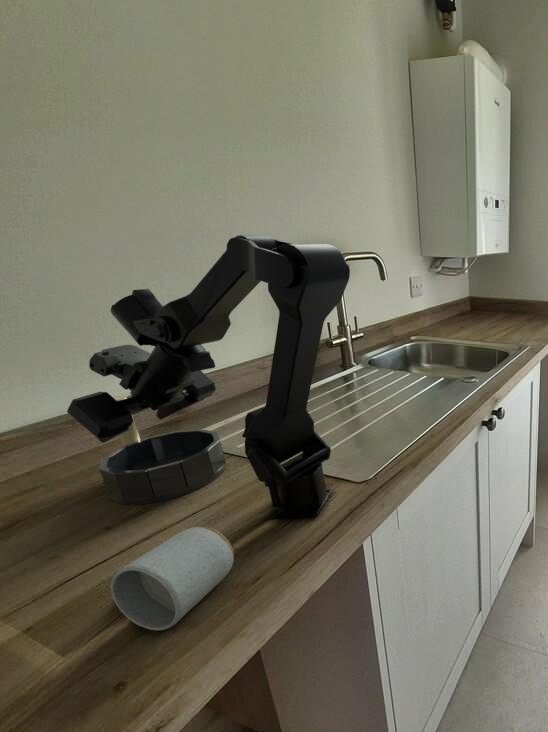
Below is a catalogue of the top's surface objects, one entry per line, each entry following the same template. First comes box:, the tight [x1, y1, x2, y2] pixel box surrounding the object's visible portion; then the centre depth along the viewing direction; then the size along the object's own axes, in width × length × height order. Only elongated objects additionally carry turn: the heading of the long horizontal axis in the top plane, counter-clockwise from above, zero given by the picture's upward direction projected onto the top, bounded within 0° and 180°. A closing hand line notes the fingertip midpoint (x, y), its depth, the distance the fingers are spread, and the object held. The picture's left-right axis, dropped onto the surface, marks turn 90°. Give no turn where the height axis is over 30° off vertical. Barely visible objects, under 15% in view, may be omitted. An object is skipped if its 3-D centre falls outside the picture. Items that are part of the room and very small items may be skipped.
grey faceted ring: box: [98, 395, 227, 506], centre depth 66 cm, size 17×15×13 cm
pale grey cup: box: [110, 525, 235, 632], centre depth 44 cm, size 11×8×8 cm
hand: (131, 428), depth 68 cm, fingers open, 9 cm apart
